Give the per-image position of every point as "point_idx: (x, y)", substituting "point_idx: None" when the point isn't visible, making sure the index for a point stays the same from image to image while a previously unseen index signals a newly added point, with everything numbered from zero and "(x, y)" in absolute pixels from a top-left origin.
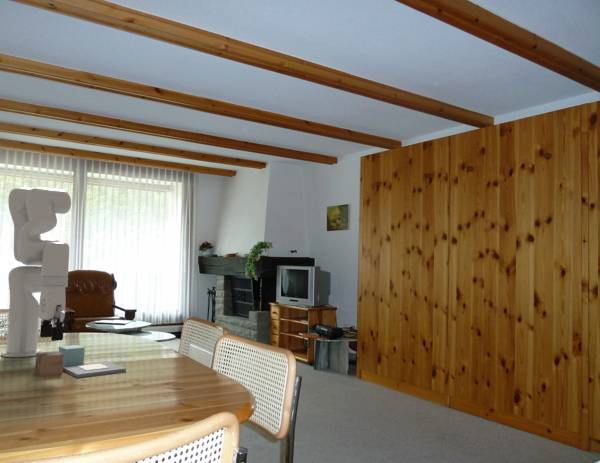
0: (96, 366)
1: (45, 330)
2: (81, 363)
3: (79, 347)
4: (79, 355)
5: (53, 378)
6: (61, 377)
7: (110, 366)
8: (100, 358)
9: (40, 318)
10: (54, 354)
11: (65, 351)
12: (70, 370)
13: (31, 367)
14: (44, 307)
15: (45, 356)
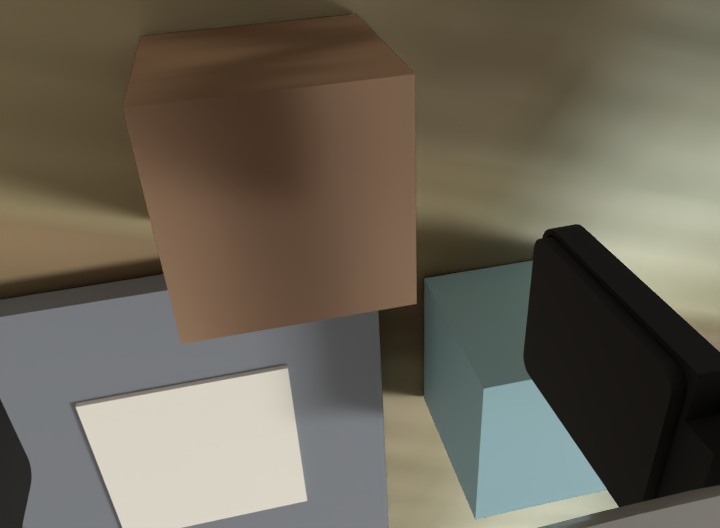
0: (201, 476)
1: (587, 357)
2: (430, 400)
3: (501, 488)
4: (452, 435)
5: (17, 128)
6: (41, 200)
7: None
8: (604, 499)
9: (674, 496)
10: (195, 257)
11: (478, 371)
12: (143, 301)
13: (636, 41)
14: None
15: (133, 144)
